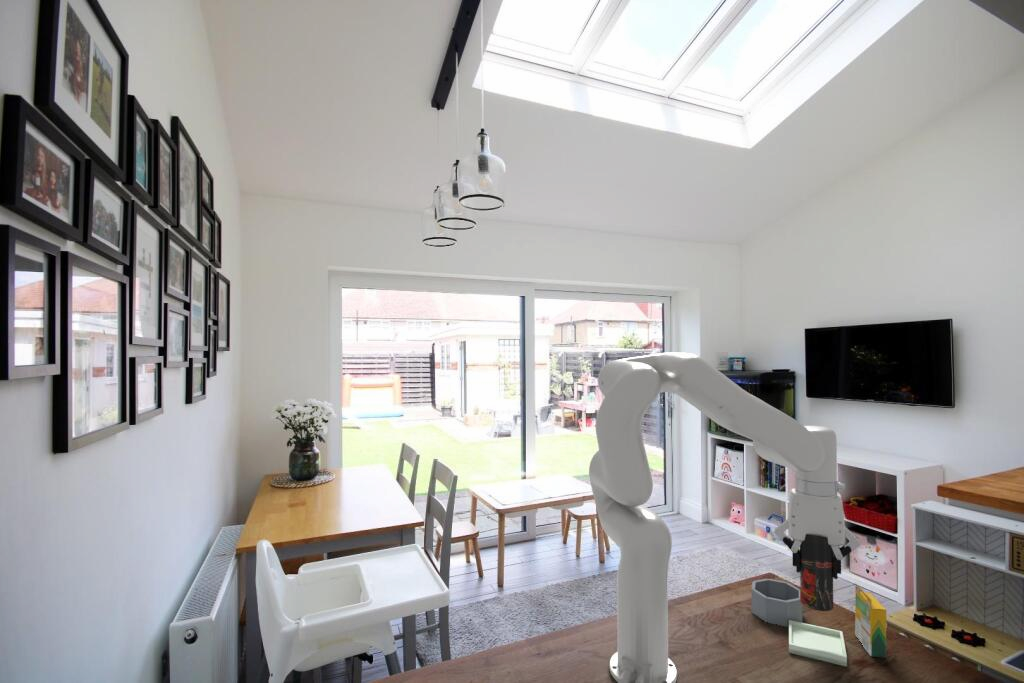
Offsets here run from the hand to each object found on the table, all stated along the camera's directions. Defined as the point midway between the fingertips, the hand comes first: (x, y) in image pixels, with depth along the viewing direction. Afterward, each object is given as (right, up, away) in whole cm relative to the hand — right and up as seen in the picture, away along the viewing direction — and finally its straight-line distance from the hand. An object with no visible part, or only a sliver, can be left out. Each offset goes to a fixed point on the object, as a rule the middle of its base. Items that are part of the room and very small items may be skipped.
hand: (816, 572), depth 109 cm
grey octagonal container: (-2, -15, +13) cm, 20 cm away
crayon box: (+11, -16, 0) cm, 19 cm away
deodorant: (0, -7, 0) cm, 7 cm away
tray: (0, -15, 0) cm, 15 cm away
